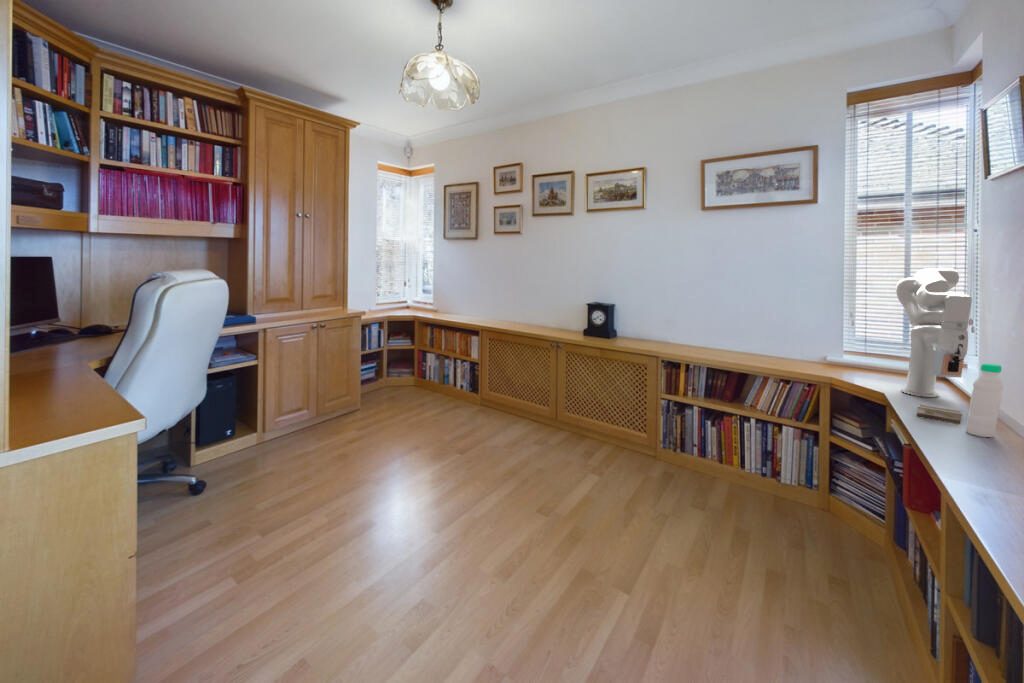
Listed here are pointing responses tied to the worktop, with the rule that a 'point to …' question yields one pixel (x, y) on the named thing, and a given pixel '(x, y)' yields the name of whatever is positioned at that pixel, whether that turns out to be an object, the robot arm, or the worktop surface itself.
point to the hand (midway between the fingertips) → (947, 369)
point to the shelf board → (939, 414)
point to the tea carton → (944, 365)
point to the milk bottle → (985, 402)
